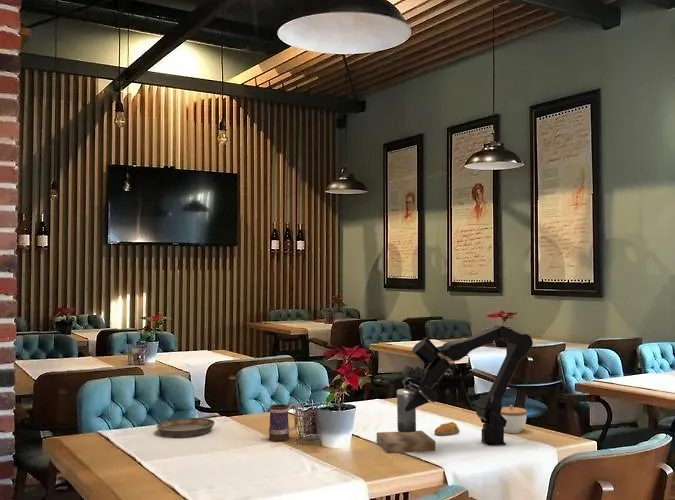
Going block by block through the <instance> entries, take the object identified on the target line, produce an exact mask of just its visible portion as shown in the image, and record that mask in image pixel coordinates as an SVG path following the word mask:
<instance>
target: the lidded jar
mask: <svg viewBox="0 0 675 500" xmlns="http://www.w3.org/2000/svg"><path fill="white" fill-rule="evenodd" d="M527 412H528V411H527V409H525V408H522V407H514V406H513V404H510V405H509V406H502V410H501V413H500V414H501V415H502V416H503V417H504V418H505V419H506V420H507V423H506V426H505V427H504V433H507V434H520V433H521V431H522V430H523V429H524V428H525V426H526V423H527Z"/></svg>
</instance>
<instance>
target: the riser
mask: <svg viewBox="0 0 675 500" xmlns="http://www.w3.org/2000/svg"><path fill="white" fill-rule="evenodd" d="M376 443H378V445H379V446H380V447H381V448H382V449H383V450H384V451H385V452H386V453H387V454H395V453H396V454H397V453H413V452H412V451H419V452H433V451H434V452H435V451H436V440H435V439H433V438H432V437H431V436H429V435H428V434H427V433H426V432H424V431H423V430H416V431H415V432H409V433H405V432H399V431H384V432H382V431H381V432H379V431H378V432H376Z"/></svg>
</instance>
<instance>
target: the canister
mask: <svg viewBox="0 0 675 500" xmlns="http://www.w3.org/2000/svg"><path fill="white" fill-rule="evenodd" d="M413 396H414V389H404V388H398V389H397V390H396V407H397V408H396V414H397V418H396V419H397V420H396V421H397V425H396V426H397V432H405V433H409V432H415V431H417V417H416V416H417V415H416V414H417V411H416V409H417V408H414V409H412V410H410V411H408V412H407V411H406V410H405V408H406V406H407V405H408V403H409V402H410V400H411V399H412V397H413Z"/></svg>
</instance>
